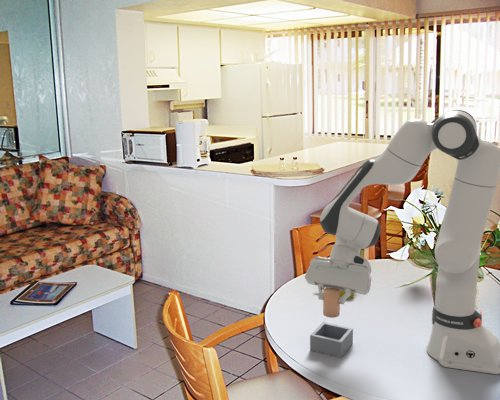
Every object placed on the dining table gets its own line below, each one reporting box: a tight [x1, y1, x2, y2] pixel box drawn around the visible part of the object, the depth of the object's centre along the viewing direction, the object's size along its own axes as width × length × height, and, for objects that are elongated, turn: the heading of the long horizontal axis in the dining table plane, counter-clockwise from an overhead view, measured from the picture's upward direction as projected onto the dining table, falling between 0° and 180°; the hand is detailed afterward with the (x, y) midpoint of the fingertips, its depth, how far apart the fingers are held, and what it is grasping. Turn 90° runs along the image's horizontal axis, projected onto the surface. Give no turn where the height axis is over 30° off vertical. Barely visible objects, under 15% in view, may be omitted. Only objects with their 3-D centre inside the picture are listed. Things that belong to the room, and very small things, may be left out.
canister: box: [322, 287, 341, 319], centre depth 166 cm, size 5×5×8 cm
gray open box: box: [309, 321, 354, 359], centre depth 169 cm, size 10×10×5 cm
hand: (330, 301), depth 166 cm, fingers closed on canister, 5 cm apart
